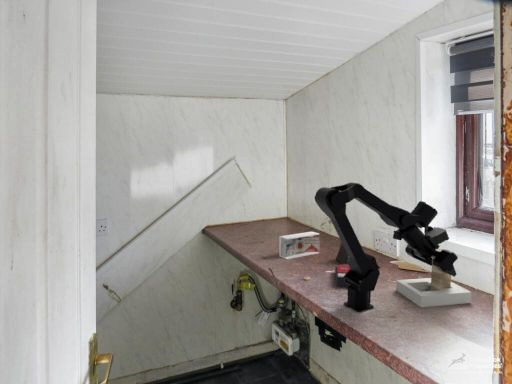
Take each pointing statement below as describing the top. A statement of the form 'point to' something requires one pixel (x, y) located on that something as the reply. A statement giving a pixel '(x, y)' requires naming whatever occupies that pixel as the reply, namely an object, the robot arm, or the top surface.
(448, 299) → the keyhole plate
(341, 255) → the phone stand
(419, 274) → the top surface
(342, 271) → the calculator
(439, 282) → the keyhole post
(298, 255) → the cigarette display
